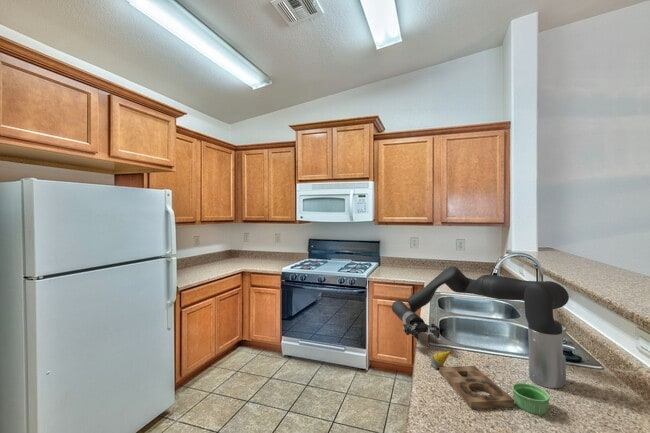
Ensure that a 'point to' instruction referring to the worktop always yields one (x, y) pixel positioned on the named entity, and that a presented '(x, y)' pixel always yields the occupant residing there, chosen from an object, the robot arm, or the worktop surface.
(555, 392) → the worktop surface
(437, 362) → the drill bit
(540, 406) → the ramekin
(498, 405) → the socket board
